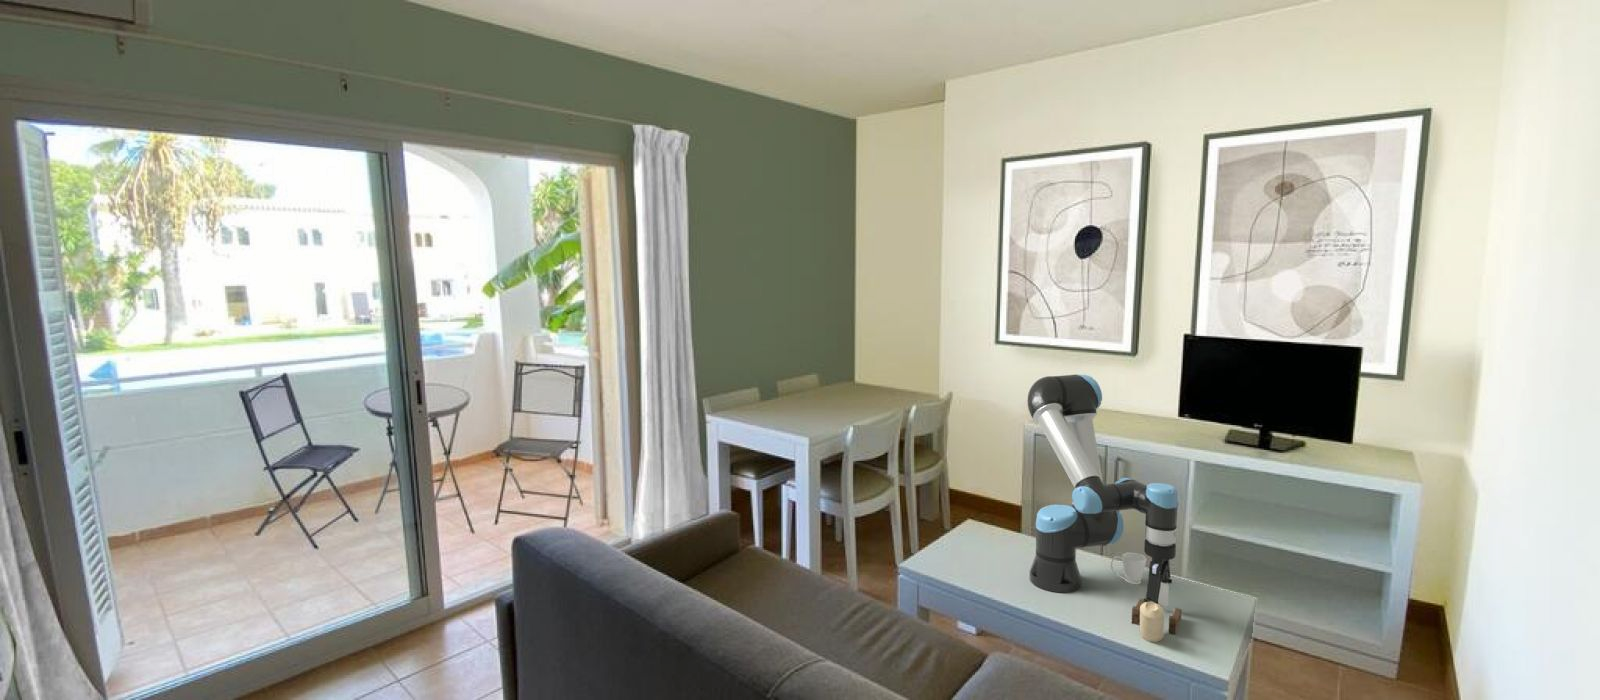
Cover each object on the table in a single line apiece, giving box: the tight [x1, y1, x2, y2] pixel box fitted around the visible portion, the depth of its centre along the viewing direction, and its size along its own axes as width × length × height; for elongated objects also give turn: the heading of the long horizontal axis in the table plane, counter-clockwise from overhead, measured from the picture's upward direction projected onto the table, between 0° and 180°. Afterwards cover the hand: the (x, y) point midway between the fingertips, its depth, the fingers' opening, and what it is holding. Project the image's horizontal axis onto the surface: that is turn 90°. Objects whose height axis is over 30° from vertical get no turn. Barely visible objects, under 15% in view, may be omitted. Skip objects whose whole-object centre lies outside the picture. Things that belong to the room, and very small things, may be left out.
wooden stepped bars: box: [1131, 598, 1183, 636], centre depth 184 cm, size 10×10×4 cm
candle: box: [1139, 602, 1165, 643], centre depth 174 cm, size 6×6×10 cm
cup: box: [1110, 551, 1147, 585], centre depth 208 cm, size 7×10×8 cm
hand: (1157, 614), depth 184 cm, fingers open, 13 cm apart
